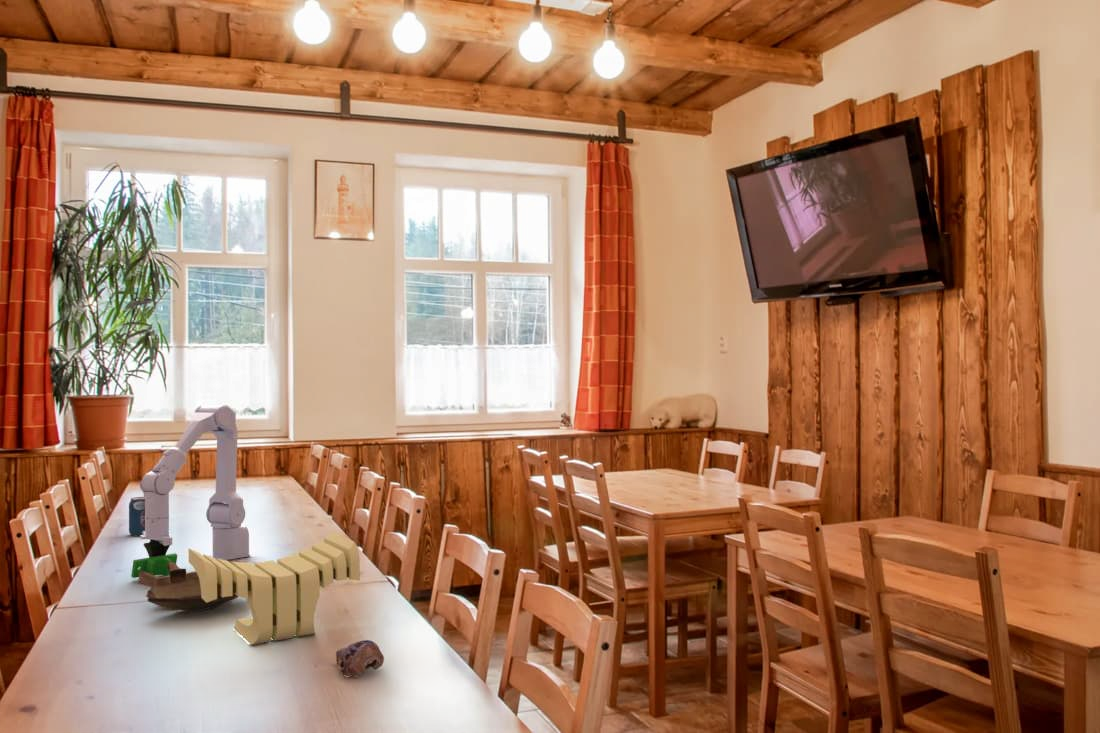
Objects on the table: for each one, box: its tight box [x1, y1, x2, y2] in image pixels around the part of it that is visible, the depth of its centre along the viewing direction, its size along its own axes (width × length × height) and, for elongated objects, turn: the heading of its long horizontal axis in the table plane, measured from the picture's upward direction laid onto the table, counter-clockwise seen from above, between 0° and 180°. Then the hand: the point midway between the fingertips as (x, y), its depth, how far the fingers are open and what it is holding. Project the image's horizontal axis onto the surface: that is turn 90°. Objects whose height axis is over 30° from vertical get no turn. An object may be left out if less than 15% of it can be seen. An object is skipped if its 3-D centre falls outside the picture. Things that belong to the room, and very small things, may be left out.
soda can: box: [128, 496, 145, 535], centre depth 288 cm, size 7×7×12 cm
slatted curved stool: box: [188, 531, 361, 646], centre depth 179 cm, size 30×16×18 cm, turn 124°
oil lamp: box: [145, 562, 239, 612], centre depth 202 cm, size 22×30×8 cm
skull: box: [335, 639, 385, 677], centre depth 157 cm, size 12×8×6 cm, turn 32°
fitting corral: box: [138, 570, 199, 589], centre depth 227 cm, size 18×11×2 cm, turn 135°
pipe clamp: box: [130, 552, 178, 579], centre depth 228 cm, size 11×4×5 cm, turn 141°
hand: (157, 569), depth 231 cm, fingers closed
